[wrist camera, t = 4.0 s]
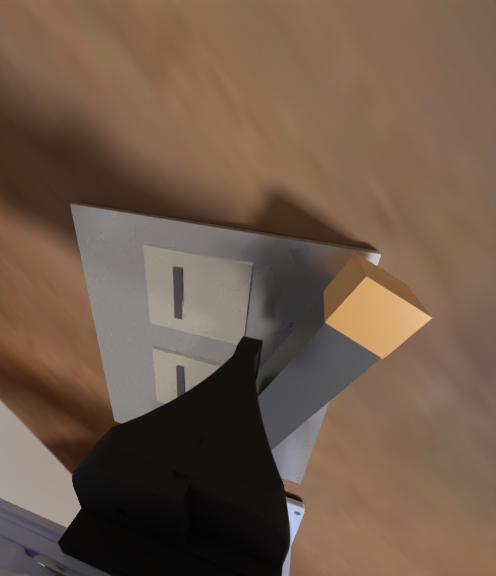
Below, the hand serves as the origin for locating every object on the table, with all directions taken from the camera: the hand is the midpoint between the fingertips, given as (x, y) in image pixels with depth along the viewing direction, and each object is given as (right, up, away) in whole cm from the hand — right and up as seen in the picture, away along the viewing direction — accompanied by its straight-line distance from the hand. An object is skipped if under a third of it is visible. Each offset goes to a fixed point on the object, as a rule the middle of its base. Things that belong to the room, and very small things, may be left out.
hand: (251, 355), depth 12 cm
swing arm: (+1, -2, +2) cm, 3 cm away
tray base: (-3, -2, +5) cm, 6 cm away
